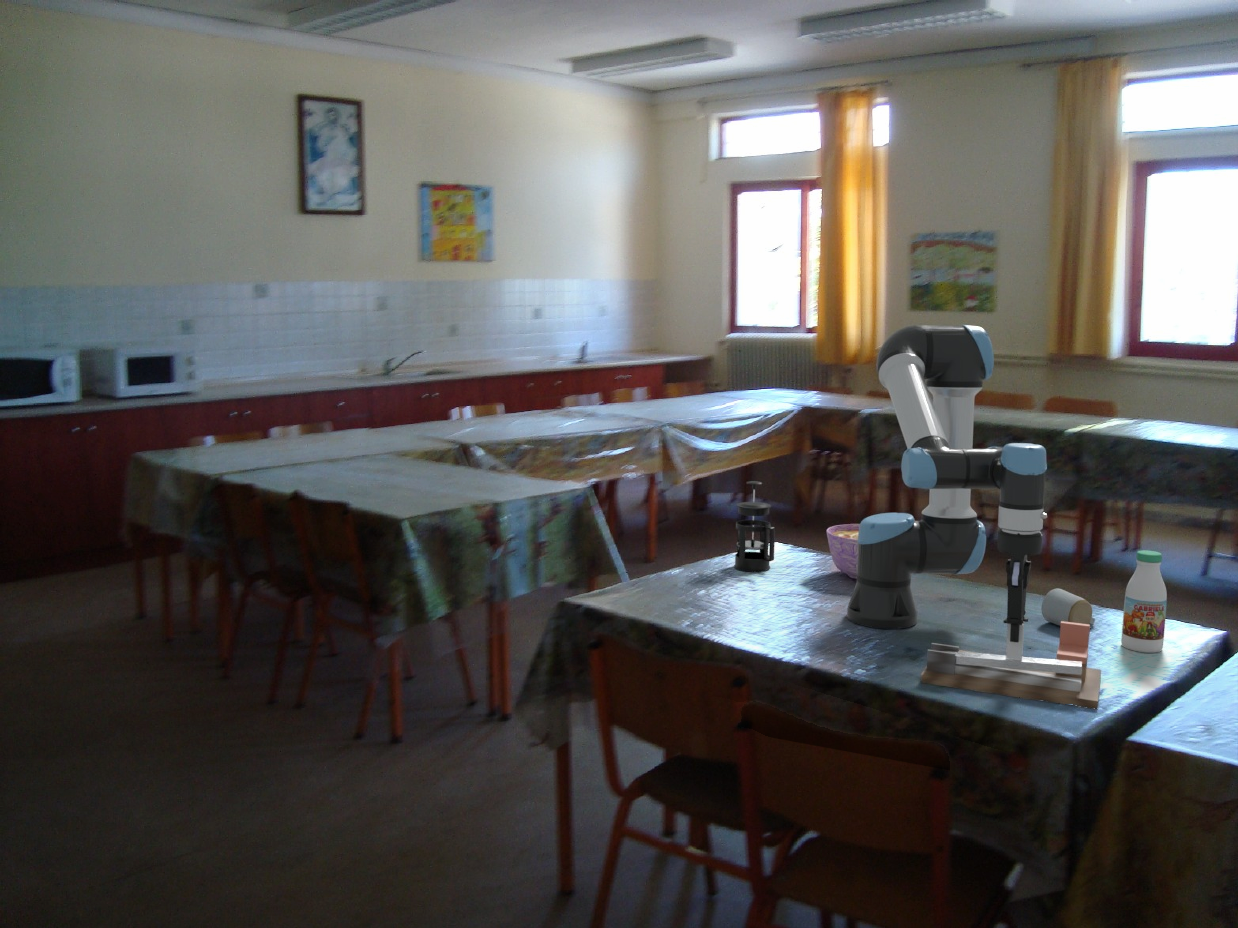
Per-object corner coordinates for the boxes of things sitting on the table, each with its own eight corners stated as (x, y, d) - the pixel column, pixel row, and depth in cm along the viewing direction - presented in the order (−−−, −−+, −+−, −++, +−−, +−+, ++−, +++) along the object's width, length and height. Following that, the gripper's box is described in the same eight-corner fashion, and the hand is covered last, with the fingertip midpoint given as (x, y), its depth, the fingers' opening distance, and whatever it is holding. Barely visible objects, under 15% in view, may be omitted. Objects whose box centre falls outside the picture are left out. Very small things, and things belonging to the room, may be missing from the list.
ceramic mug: (1069, 634, 231) (1072, 599, 229) (1039, 623, 238) (1042, 589, 237) (1104, 628, 235) (1107, 594, 234) (1073, 618, 243) (1076, 585, 241)
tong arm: (941, 662, 202) (941, 654, 202) (944, 657, 205) (944, 650, 205) (1081, 674, 192) (1081, 666, 192) (1082, 669, 195) (1082, 661, 194)
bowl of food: (903, 569, 285) (905, 526, 283) (905, 588, 266) (908, 542, 264) (826, 564, 289) (827, 522, 288) (823, 583, 270) (824, 538, 268)
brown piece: (920, 682, 201) (922, 653, 200) (937, 654, 217) (938, 627, 216) (1097, 709, 188) (1099, 679, 187) (1100, 677, 204) (1102, 649, 203)
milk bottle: (1113, 642, 225) (1120, 548, 222) (1148, 641, 226) (1156, 547, 223) (1134, 654, 218) (1141, 557, 215) (1170, 653, 218) (1179, 556, 215)
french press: (724, 567, 286) (726, 481, 282) (746, 561, 292) (749, 477, 289) (760, 575, 277) (763, 486, 274) (782, 569, 284) (785, 482, 281)
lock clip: (1056, 659, 199) (1058, 632, 198) (1059, 647, 206) (1061, 621, 205) (1086, 664, 196) (1088, 636, 196) (1087, 651, 204) (1089, 624, 203)
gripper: (1039, 538, 187) (1033, 670, 190) (1045, 525, 199) (1038, 650, 202) (994, 535, 190) (988, 664, 193) (1002, 522, 202) (996, 645, 205)
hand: (1014, 657), depth 198 cm, fingers closed
